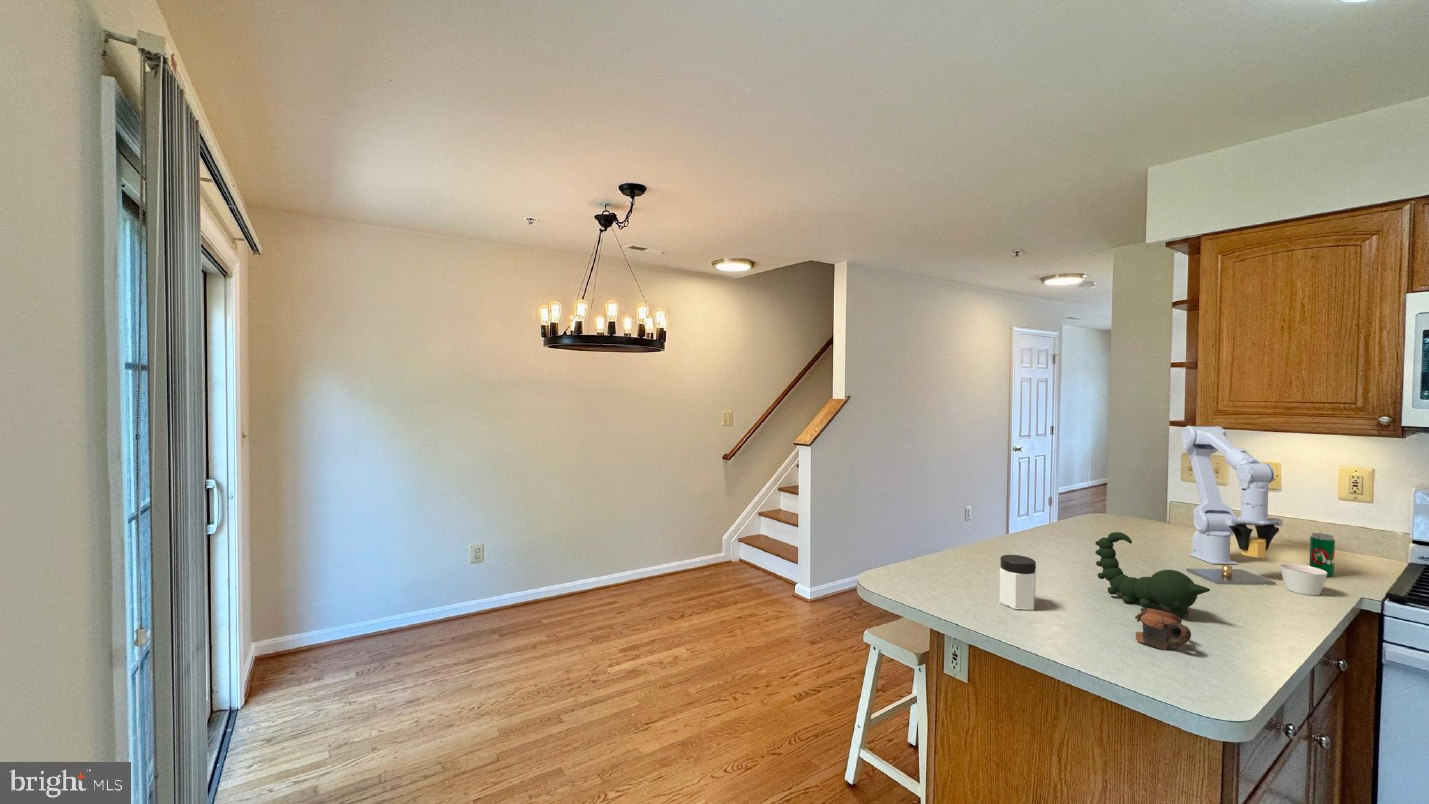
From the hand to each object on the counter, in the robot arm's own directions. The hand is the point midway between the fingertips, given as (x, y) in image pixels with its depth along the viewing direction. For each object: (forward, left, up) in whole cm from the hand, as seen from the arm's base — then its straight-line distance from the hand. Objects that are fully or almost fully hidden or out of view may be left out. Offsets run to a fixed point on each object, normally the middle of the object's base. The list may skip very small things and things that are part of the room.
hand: (1253, 549), depth 164 cm
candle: (+10, +4, -9) cm, 14 cm away
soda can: (-4, +23, -9) cm, 25 cm away
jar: (+24, -79, -9) cm, 82 cm away
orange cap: (0, 0, -2) cm, 2 cm away
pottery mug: (+44, -57, -9) cm, 73 cm away
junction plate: (0, -7, -8) cm, 11 cm away
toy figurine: (+24, -46, -9) cm, 52 cm away
